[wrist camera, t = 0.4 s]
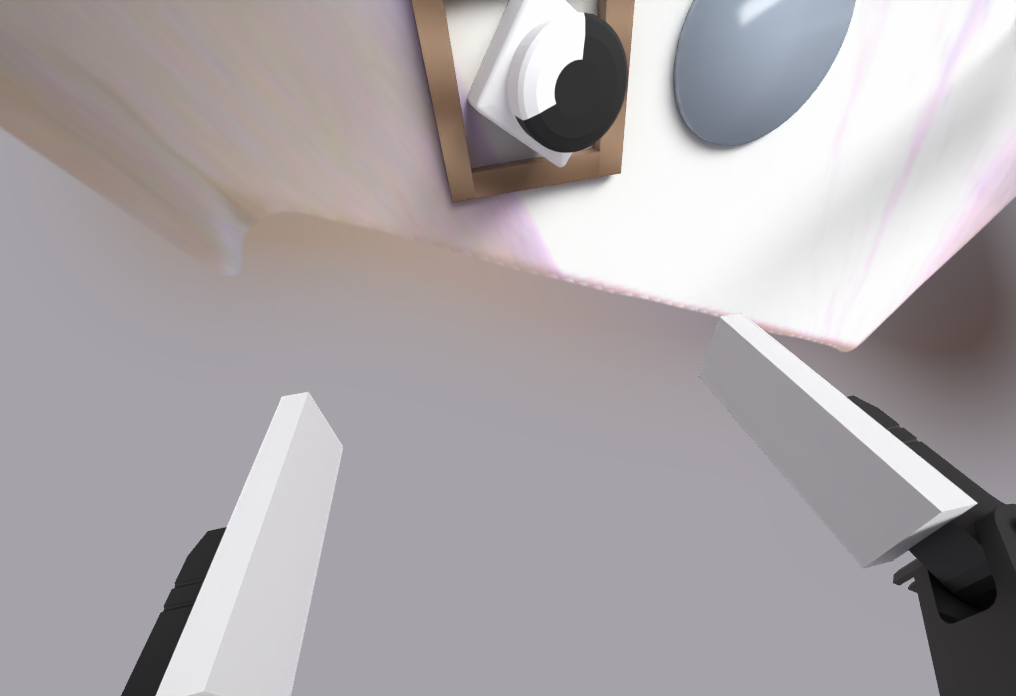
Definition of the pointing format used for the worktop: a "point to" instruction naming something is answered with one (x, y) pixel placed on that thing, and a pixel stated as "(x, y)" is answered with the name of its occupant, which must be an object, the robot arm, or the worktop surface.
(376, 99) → the worktop surface
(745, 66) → the slate plate
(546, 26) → the medicine bottle
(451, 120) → the wooden picture frame
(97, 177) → the worktop surface
